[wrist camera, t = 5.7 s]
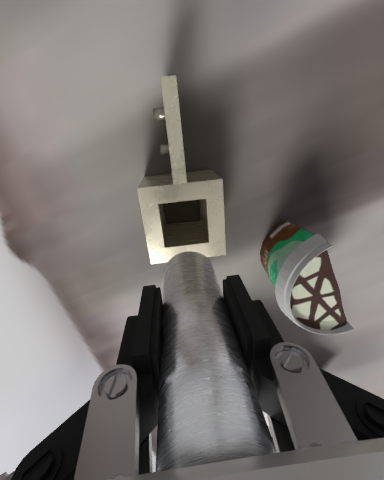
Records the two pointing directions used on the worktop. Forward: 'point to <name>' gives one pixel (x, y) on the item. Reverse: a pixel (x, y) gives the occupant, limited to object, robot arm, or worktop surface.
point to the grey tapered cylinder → (203, 375)
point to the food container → (304, 279)
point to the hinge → (180, 194)
